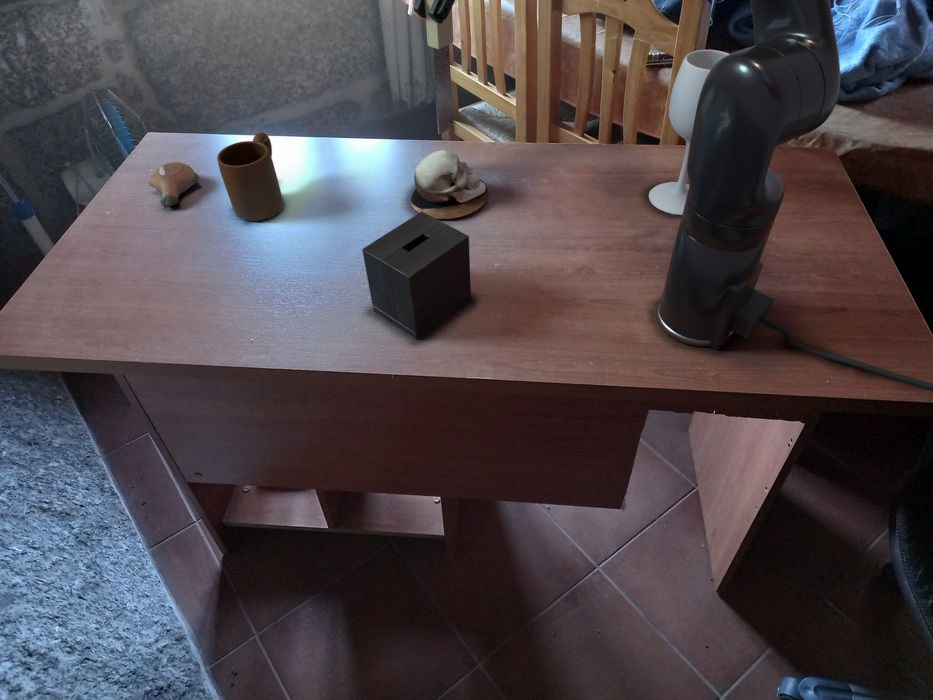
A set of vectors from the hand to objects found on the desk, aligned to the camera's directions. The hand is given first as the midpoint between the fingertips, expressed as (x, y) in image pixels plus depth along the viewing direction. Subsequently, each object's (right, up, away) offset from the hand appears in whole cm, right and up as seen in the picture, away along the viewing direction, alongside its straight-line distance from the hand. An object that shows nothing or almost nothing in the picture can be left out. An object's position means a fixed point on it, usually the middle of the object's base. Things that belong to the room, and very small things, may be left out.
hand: (427, 17), depth 81 cm
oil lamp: (-42, -16, +24) cm, 51 cm away
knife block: (-1, -35, +4) cm, 35 cm away
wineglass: (+37, -18, +19) cm, 45 cm away
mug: (-27, -18, +22) cm, 39 cm away
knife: (+2, -10, +13) cm, 16 cm away
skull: (+2, -18, +21) cm, 27 cm away
